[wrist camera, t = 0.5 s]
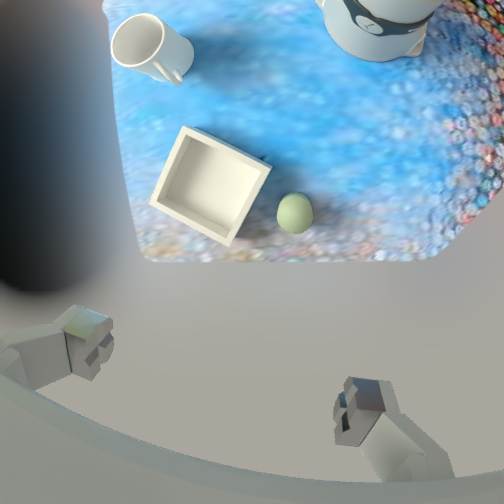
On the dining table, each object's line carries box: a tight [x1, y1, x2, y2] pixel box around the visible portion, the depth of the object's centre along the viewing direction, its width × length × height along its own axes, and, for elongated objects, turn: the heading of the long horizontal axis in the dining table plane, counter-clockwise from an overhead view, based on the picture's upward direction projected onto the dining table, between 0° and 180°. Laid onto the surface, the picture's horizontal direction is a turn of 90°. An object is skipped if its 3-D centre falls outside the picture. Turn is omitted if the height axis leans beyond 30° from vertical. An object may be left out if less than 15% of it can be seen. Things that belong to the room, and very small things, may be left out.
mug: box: [111, 13, 194, 85], centre depth 39 cm, size 12×8×12 cm
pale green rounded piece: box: [277, 192, 313, 234], centre depth 47 cm, size 5×5×6 cm
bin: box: [149, 126, 273, 247], centre depth 48 cm, size 13×14×5 cm
